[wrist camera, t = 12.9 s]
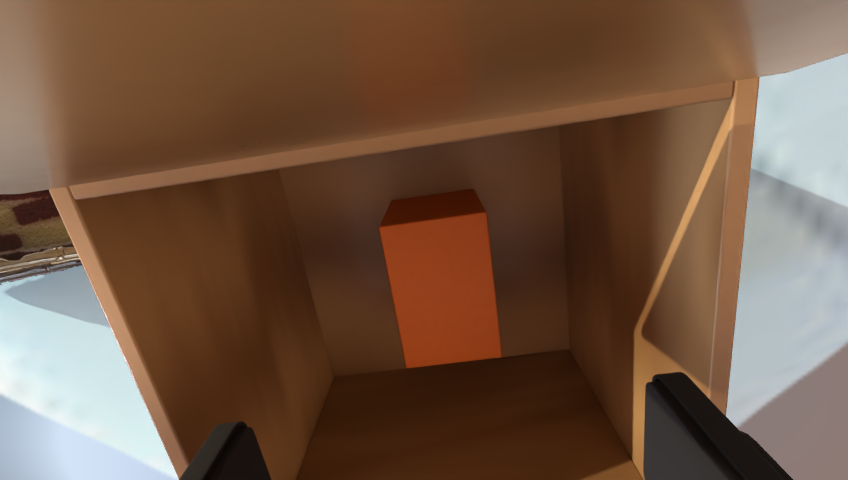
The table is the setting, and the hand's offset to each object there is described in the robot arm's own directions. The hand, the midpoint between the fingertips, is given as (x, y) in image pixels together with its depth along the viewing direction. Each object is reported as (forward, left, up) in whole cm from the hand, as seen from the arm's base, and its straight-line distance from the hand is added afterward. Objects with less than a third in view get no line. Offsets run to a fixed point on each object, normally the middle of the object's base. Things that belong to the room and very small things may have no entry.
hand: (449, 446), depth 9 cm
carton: (0, 0, -14) cm, 14 cm away
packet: (0, 0, -13) cm, 13 cm away
